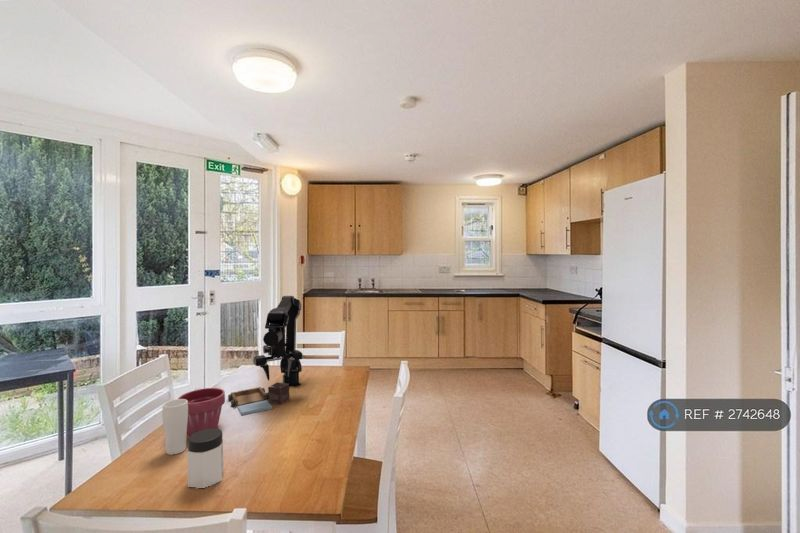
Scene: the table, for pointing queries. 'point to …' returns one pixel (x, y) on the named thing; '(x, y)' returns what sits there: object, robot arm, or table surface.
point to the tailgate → (254, 407)
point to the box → (278, 393)
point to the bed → (247, 397)
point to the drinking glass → (175, 425)
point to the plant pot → (203, 408)
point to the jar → (205, 458)
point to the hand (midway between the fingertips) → (278, 378)
